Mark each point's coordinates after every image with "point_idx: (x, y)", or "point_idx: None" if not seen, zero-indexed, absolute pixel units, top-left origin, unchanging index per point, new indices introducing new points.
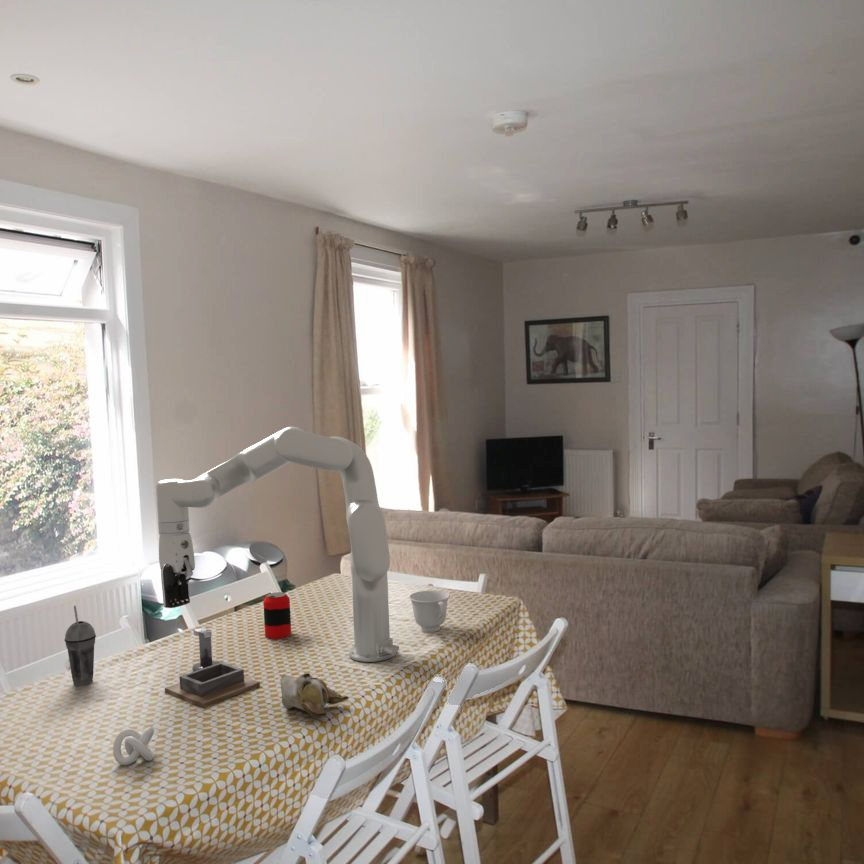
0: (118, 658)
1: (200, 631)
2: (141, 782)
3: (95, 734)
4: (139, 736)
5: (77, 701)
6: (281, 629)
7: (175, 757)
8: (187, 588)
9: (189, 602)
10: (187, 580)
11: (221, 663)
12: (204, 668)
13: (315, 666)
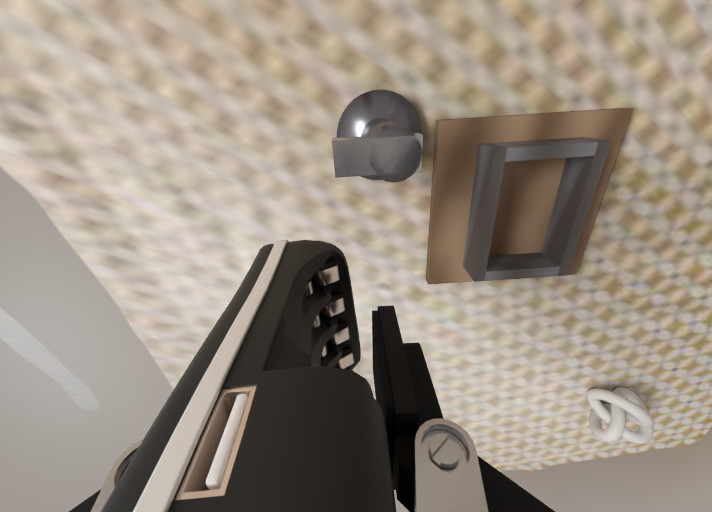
0: (105, 254)
1: (379, 168)
2: (653, 410)
3: (479, 402)
4: (625, 419)
5: None
6: None
7: (654, 369)
8: (405, 366)
9: (342, 252)
10: (513, 492)
11: (504, 158)
12: (488, 214)
13: None
